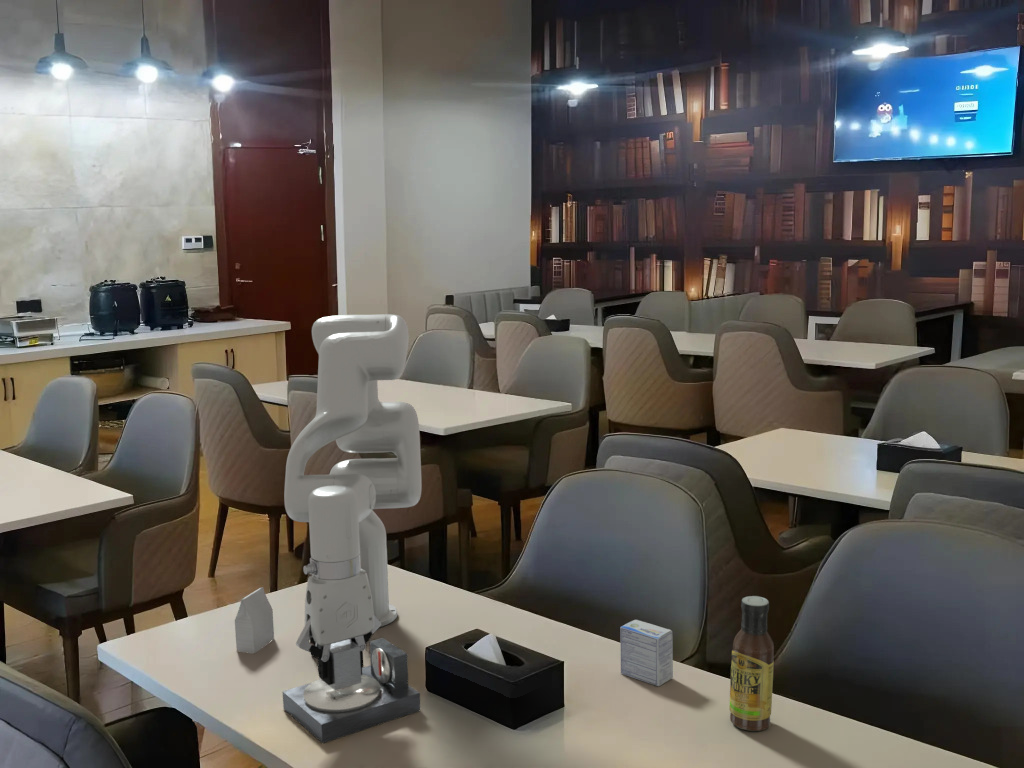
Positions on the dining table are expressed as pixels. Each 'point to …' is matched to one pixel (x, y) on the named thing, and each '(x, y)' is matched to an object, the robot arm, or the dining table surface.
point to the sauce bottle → (752, 668)
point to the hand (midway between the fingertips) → (341, 676)
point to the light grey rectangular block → (345, 664)
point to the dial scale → (356, 697)
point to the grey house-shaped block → (254, 622)
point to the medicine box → (646, 652)
